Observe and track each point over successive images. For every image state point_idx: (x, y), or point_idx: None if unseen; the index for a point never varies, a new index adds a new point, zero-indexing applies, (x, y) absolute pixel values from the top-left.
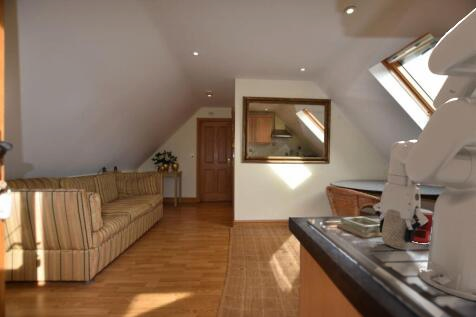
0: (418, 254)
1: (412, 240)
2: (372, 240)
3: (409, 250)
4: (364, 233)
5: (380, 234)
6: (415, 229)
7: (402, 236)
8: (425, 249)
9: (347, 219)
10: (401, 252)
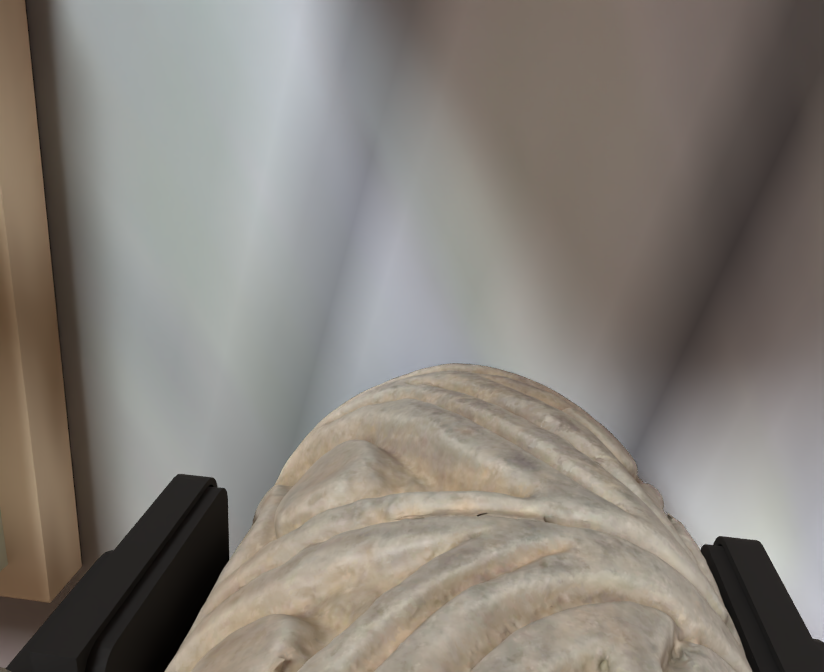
0: (816, 452)
1: (757, 546)
2: None
3: (665, 415)
4: (12, 579)
5: (26, 188)
6: None
7: None
8: (810, 6)
9: None
10: None
